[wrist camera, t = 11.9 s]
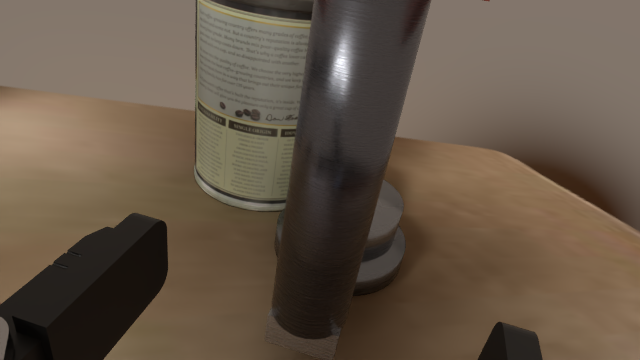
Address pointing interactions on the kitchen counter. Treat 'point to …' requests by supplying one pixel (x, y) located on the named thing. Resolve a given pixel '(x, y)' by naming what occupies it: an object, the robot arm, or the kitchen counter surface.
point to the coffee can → (248, 97)
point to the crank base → (368, 263)
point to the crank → (342, 165)
